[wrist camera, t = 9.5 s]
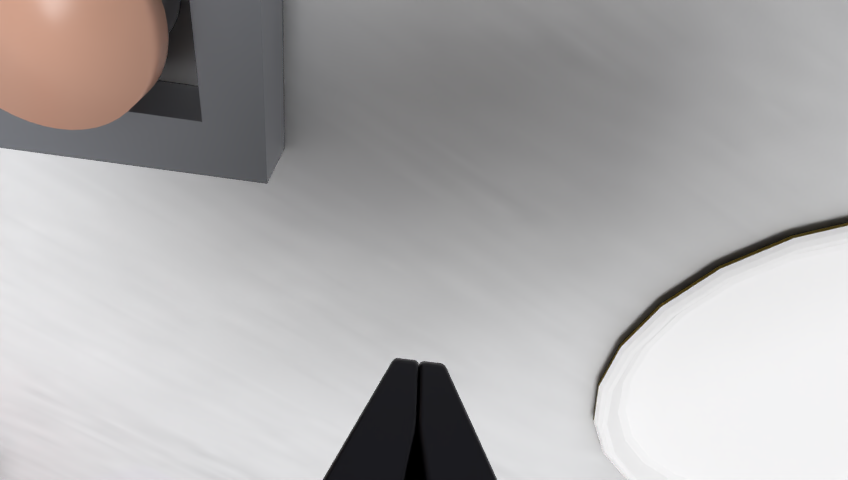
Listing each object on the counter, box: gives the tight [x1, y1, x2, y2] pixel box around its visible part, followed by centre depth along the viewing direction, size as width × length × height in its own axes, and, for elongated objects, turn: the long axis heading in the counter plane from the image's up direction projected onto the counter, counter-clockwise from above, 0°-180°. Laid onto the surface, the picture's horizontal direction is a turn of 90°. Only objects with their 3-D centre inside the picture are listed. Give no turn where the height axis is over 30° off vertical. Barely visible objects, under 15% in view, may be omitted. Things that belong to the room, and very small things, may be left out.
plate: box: [593, 223, 848, 480], centre depth 27 cm, size 21×21×1 cm
